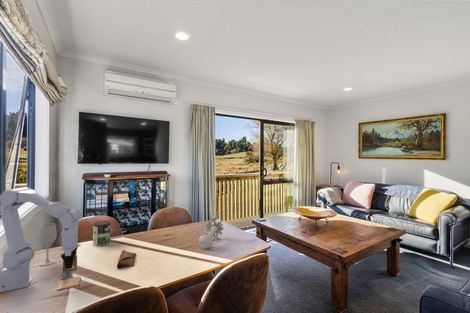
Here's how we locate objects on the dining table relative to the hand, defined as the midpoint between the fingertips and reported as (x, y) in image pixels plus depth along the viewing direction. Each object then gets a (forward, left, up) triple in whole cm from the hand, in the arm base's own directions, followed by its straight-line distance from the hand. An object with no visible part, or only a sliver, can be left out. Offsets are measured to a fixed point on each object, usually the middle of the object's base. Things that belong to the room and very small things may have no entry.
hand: (69, 265), depth 103 cm
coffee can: (+13, +49, -9) cm, 52 cm away
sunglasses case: (+26, +12, -9) cm, 30 cm away
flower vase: (+78, +12, -8) cm, 80 cm away
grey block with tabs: (-3, +11, -8) cm, 14 cm away
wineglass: (-13, +31, -8) cm, 34 cm away
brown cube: (0, 0, -2) cm, 2 cm away
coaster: (0, 0, -8) cm, 8 cm away
